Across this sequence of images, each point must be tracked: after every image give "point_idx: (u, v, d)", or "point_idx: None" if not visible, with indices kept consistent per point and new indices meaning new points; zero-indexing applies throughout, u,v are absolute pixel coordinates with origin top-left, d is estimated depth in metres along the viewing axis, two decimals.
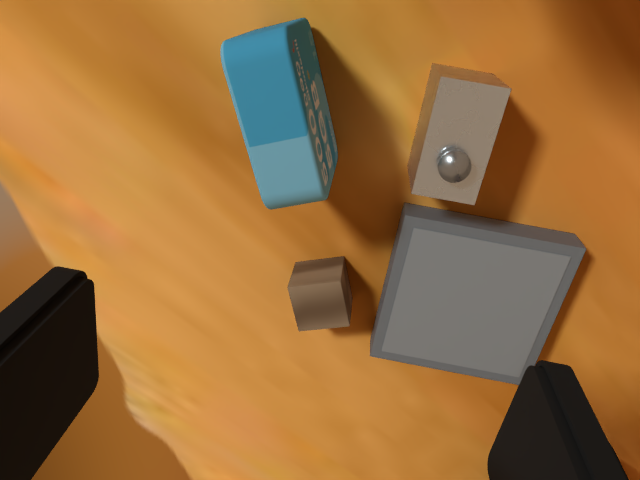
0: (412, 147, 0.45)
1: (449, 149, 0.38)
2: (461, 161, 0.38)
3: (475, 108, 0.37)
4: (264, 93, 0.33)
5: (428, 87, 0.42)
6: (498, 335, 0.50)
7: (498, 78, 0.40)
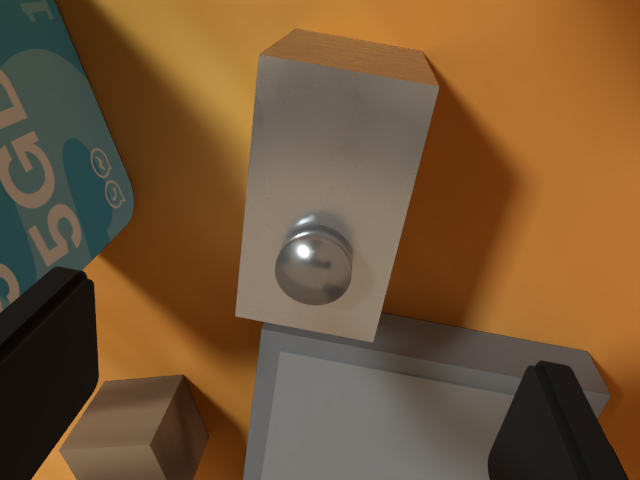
0: None
1: (302, 229, 0.16)
2: (326, 261, 0.16)
3: (355, 136, 0.15)
4: None
5: None
6: None
7: (426, 60, 0.18)
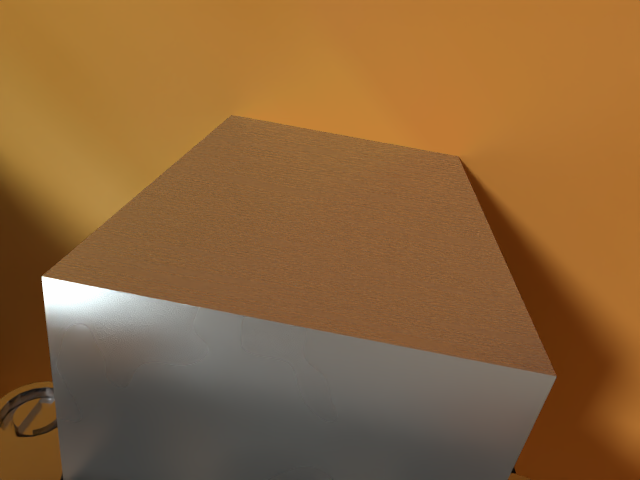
0: None
1: None
2: None
3: (320, 463, 0.06)
4: None
5: None
6: None
7: (477, 201, 0.09)
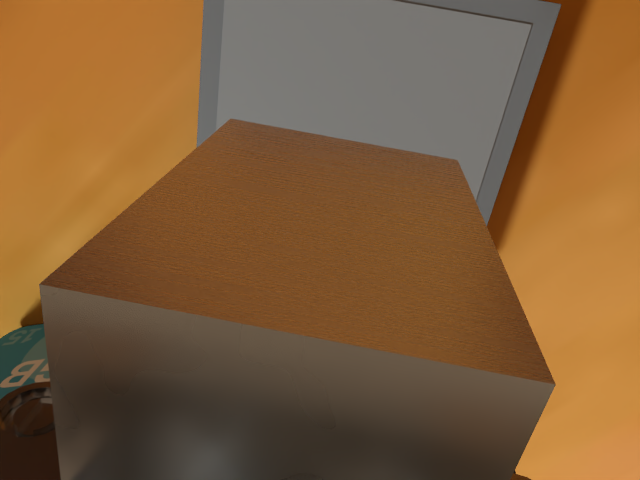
0: None
1: None
2: None
3: (318, 471, 0.06)
4: None
5: None
6: (416, 83, 0.25)
7: (477, 206, 0.09)
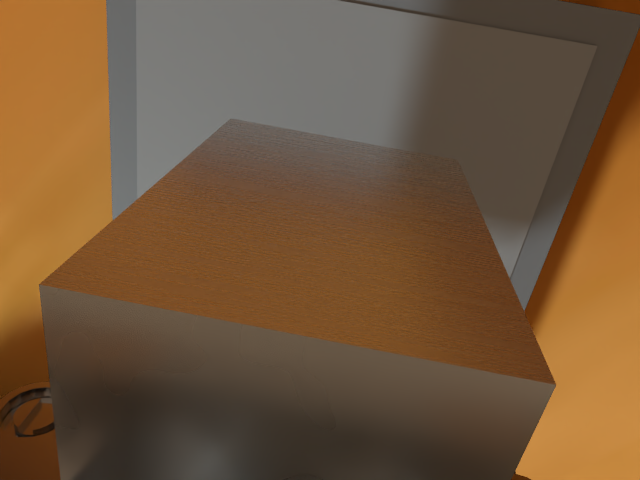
0: None
1: None
2: None
3: (318, 471, 0.06)
4: None
5: None
6: (422, 130, 0.17)
7: (477, 206, 0.09)
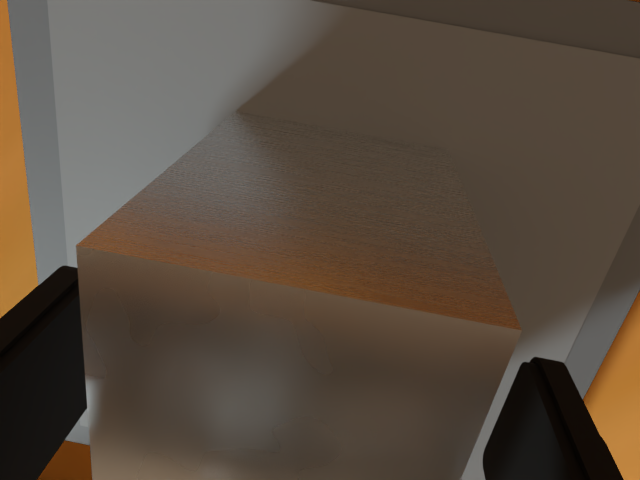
0: None
1: None
2: None
3: (317, 414, 0.06)
4: None
5: None
6: None
7: (463, 189, 0.10)
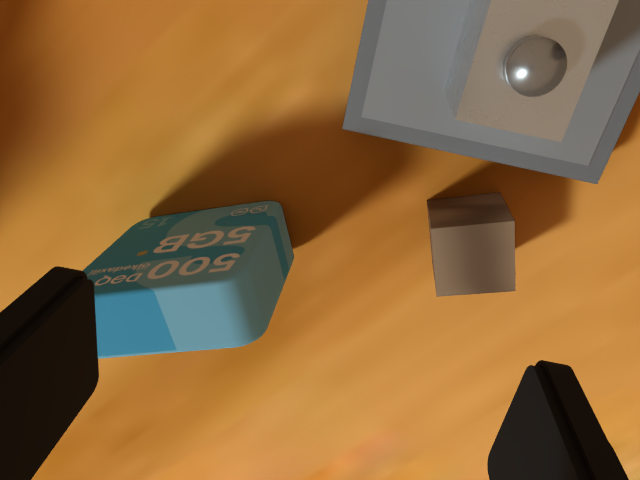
0: (453, 60, 0.29)
1: (527, 37, 0.22)
2: (549, 56, 0.21)
3: None
4: (115, 327, 0.30)
5: None
6: None
7: None
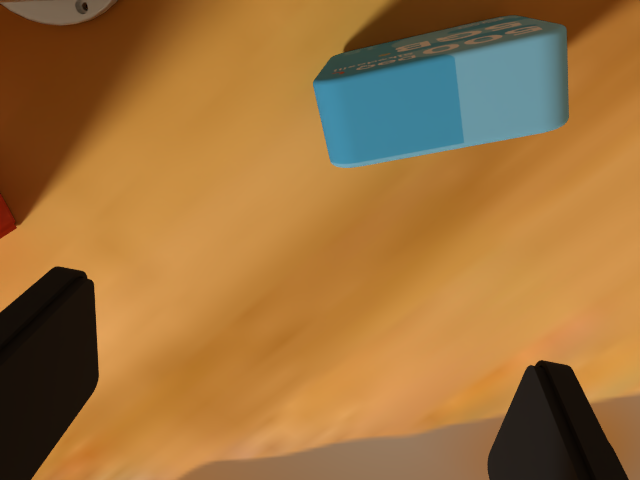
0: None
1: None
2: None
3: None
4: (390, 116, 0.25)
5: None
6: None
7: None
